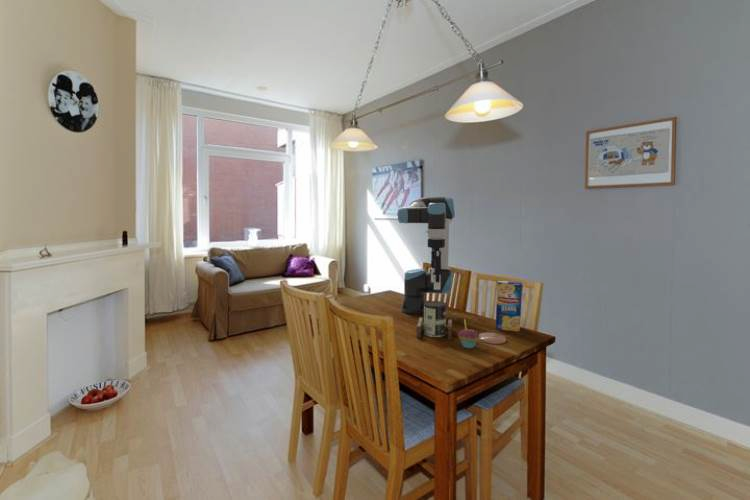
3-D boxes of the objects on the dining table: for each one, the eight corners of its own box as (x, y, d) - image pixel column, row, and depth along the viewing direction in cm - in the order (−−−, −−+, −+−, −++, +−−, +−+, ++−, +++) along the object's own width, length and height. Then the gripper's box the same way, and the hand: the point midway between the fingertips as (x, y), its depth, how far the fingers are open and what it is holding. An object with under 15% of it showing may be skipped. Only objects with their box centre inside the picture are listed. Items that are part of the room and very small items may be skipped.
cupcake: (458, 349, 147) (459, 320, 146) (457, 341, 156) (457, 314, 154) (480, 350, 146) (481, 321, 145) (477, 342, 155) (478, 315, 153)
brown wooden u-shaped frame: (419, 327, 175) (419, 317, 175) (451, 329, 172) (451, 319, 171) (416, 337, 161) (416, 326, 161) (451, 340, 158) (451, 328, 157)
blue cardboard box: (496, 324, 179) (497, 280, 177) (519, 327, 175) (521, 282, 173) (495, 328, 173) (497, 283, 170) (520, 331, 169) (522, 285, 166)
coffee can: (446, 330, 170) (446, 301, 169) (445, 338, 160) (446, 307, 159) (424, 329, 172) (424, 300, 171) (422, 336, 162) (423, 305, 161)
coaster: (476, 333, 166) (476, 331, 166) (504, 335, 164) (504, 333, 164) (478, 342, 155) (478, 341, 155) (508, 344, 152) (508, 343, 152)
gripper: (425, 235, 171) (424, 279, 174) (430, 241, 147) (429, 292, 149) (441, 235, 171) (440, 279, 174) (448, 241, 146) (447, 292, 149)
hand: (435, 285), depth 161 cm, fingers open, 13 cm apart
